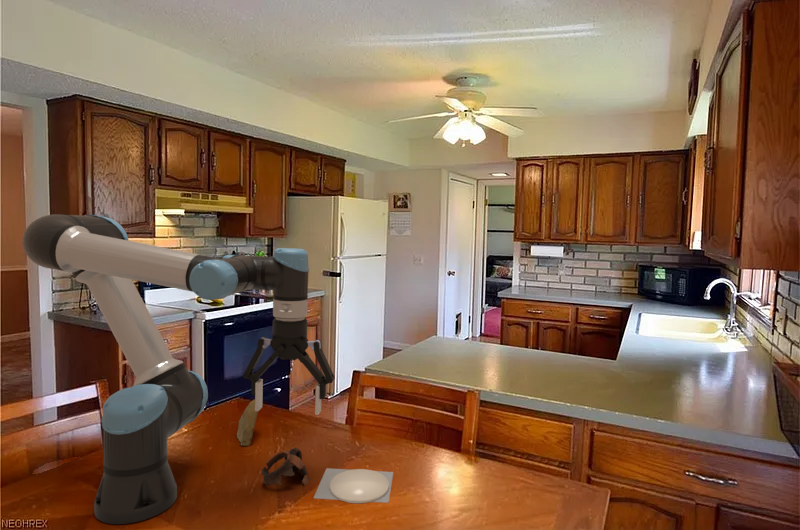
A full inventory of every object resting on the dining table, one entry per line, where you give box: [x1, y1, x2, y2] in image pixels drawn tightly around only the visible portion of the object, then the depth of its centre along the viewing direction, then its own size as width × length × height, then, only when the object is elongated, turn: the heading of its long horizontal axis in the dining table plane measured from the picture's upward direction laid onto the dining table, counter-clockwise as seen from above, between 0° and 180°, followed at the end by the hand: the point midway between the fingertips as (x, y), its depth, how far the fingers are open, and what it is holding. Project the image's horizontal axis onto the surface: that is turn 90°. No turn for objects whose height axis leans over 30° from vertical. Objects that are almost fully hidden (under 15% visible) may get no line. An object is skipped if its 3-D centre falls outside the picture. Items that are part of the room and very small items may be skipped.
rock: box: [235, 398, 259, 447], centre depth 134 cm, size 11×9×10 cm
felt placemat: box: [313, 467, 394, 504], centre depth 111 cm, size 16×13×1 cm
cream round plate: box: [330, 468, 389, 504], centre depth 110 cm, size 13×13×1 cm
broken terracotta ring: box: [261, 447, 310, 486], centre depth 113 cm, size 12×10×8 cm
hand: (288, 410), depth 112 cm, fingers open, 13 cm apart
